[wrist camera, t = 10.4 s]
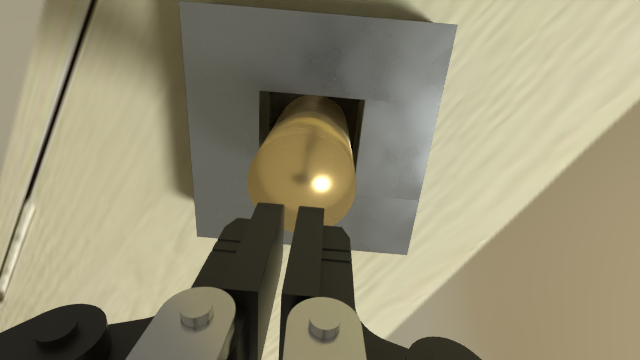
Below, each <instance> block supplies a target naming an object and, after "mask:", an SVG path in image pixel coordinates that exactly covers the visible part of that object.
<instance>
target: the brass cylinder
mask: <svg viewBox="0 0 640 360" xmlns="http://www.w3.org/2000/svg"><path fill="white" fill-rule="evenodd" d="M247 184H248V191H249V195H250V198H251V201H252V203H253V205H254V206H255V208H256V206H257V203H258V202H262V203H273V204H284V207H285V215H284V230H286V231H289V232H293V233H294V229H295V224H296V219H297V214H298V209H299V206H308V207H319V208H324V225H326V226H333V225H335V224H336V223H338V222H339V221H340V220H341V219H342V218H343V217H344V216H345V215H346V214H347V212H348V211H349V209H350V208H351V206H352V204H353V201H354V198H355V194H356V184H357V183H356V175H355V169H354V163H353V157H352V150H351V144H350V138H349V132H348V126H347V121H346V117H345V115H344V113H343V111H342V110H341V108H340V107H339V106H338V105H337V104H336V103H335V102H333V101H332V100H330V99H329V98H326V97H324V96H316V95H305V96H301V97H299V98H296V99H295V100H293V101H292V102H291V103H289V104H288V105H287V106H286V108H285V109H284V110H283V112H282V114H281V115H280V117H279V119H278V120H277V122H276V123H275V125H274V127H273V128H272V130H271V131H270V133H269V135H268V136H267V138H266V140H265V141H264V143H263V144H262V146H261V148H260V149H259V151H258V152H257V154H256V156H255V157H254V159H253V161H252V163H251V165H250V168H249V172H248V181H247Z"/></svg>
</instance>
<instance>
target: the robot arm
mask: <svg viewBox="0 0 640 360" xmlns="http://www.w3.org/2000/svg"><path fill="white" fill-rule="evenodd" d="M284 215H285V207H284V204H273V203H262V202H258V203H257V206H256V208H255V210H254V212H253V215H252V217H251V219H246V218H236V219H235V220H234V221H232V222H231V223H229V224H228V225H227V226H225V227H224V229H223V231H222V232H221V234H220V236H219V238H218V241H217V242H216V243H215V245H214V247H213V249H212V252H210V254H209V256H208V258H207V260H206V262H205V263H204V265H203V267H202V269H201V271H200V273H199V274H198V276H197V278H196V280H195V282H194V283H193V285H192V287H191V289H188V290H185V291H182V292H180V293H178V294H176V295H174V296H173V297H171V298H170V299H168V300H167V301H166V302H165V303H164V304H163V306H162V307H161V308H160V309H159V311H158V312H157V314H156V315H155V316H153V317H150V318H145V319H140V320H134V321H128V322H122V323H116V324H110V325H108V323H107V319H106V315H105V313H104V312H103V311H102V310H101V309H100V308H98V307H96V306H93V305H89V304H72V305H66V306H62V307H58V308H55V309H52V310H50V311H47V312H45V313H42V314H40V315H38V316H36V317H34V318H32V319H29V320H27V321H25V322H23V323H21V324H19V325H17V326H14V327H12V328H10V329H8V330H6V331H4V332H1V333H0V360H261V358H262V353H263V349H264V344H265V340H266V335H267V330H268V326H269V321H270V317H271V312H272V308H273V303H274V299H275V294H276V290H277V285H278V281H279V276H280V272H281V265H282V257H283V239H284ZM279 360H481V359H480V358H479V357H478V356H477V355H475V354H474V353H473V352H472V351H470V350H469V349H468V348H466V347H465V346H463V345H461V344H459V343H457V342H455V341H453V340H450V339H447V338H442V337H426V338H422V339H419V340H417V341H416V342H415V343H413V344H412V345H411V347H410V348H409V349H407V348H405V347H402V346H399V345H397V344H394V343H392V342H389V341H386V340H384V339H382V338H380V337H378V336H377V335H375V334H373V333H372V332H371V331H369V330H368V329H367V328H366V327H365V326H364V325H363V323H362V322H361V321H360V319H359V317H358V315H357V313H356V309H355V300H354V286H353V272H352V259H351V245H350V237H349V236H348V235H347V233H346V232H345V231H344V229H343V228H342V227H337V226H326V225H324V208H319V207H308V206H299V209H298V214H297V219H296V224H295V229H294V234H293V239H292V244H291V249H290V254H289V259H288V264H287V269H286V274H285V279H284V284H283V289H282V295H281V319H280V342H279Z"/></svg>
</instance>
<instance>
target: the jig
mask: <svg viewBox="0 0 640 360" xmlns="http://www.w3.org/2000/svg"><path fill="white" fill-rule="evenodd" d="M179 11H180V23H181V36H182V49H183V62H184V74H185V87H186V100H187V113H188V126H189V138H190V151H191V164H192V177H193V189H194V202H195V215H196V228H197V237H208V238H219V236H220V234H221V232H222V231H223V229H224V227H225V226H227V225H228V224H229V223H231V222H232V221H234V220H235V219H236V218H246V219H251V217H252V215H253V212H254V210H255V206H254V205H253V203H252V201H251V198H250V195H249V191H248V184H247V181H248V172H249V168H250V165H251V163H252V161H253V159H254V157H255V156H256V154H257V152H258V151H259V149H260V148H261V146H262V144H263V143H264V141H265V140H266V138H267V136H268V135H269V116H270V92H282V93H293V94H305V95H316V96H328V97H339V98H351V99H360V100H359V108H358V116H357V125H356V133H355V141H354V149H353V163H354V169H355V175H356V183H357V184H356V194H355V198H354V201H353V204H352V206H351V208H350V209H349V211H348V212H347V214H346V215H345V216H344V217H343V218H342V219H341V220H340V221H339V222H338V223H336V224H335V225H333V226H337V227H342V228H343V229H344V231H345V232H346V233H347V235H348V236H349V237H350V245H351V250H355V251H367V252H378V253H389V254H401V255H407V252H408V248H409V243H410V239H411V234H412V230H413V225H414V221H415V216H416V212H417V207H418V202H419V198H420V193H421V189H422V184H423V180H424V175H425V171H426V166H427V161H428V157H429V152H430V148H431V143H432V139H433V134H434V130H435V125H436V120H437V116H438V111H439V107H440V102H441V98H442V93H443V89H444V84H445V80H446V75H447V70H448V66H449V61H450V57H451V52H452V48H453V43H454V39H455V34H456V29H457V25H455V24H443V23H432V22H420V21H408V20H397V19H385V18H373V17H362V16H350V15H339V14H327V13H315V12H304V11H292V10H280V9H269V8H257V7H245V6H234V5H222V4H211V3H199V2H187V1H179ZM293 234H294V233H293V232H289V231H286V230H284V239H283V244H288V245H291V244H292V239H293Z"/></svg>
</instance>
